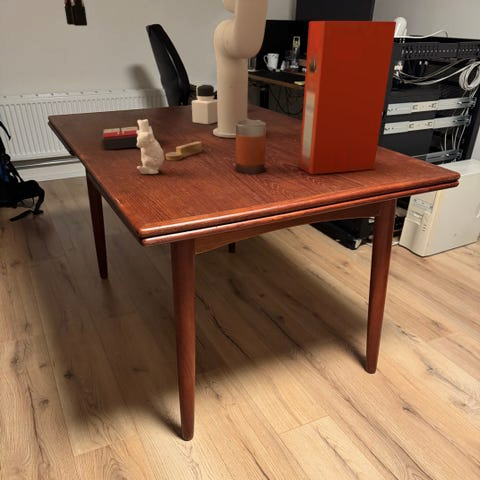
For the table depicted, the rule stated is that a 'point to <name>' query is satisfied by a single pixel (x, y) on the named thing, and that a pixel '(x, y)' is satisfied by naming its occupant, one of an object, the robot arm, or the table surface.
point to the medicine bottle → (205, 106)
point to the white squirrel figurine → (148, 149)
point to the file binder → (344, 94)
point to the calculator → (121, 137)
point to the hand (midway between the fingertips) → (77, 25)
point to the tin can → (250, 146)
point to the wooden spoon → (184, 151)
